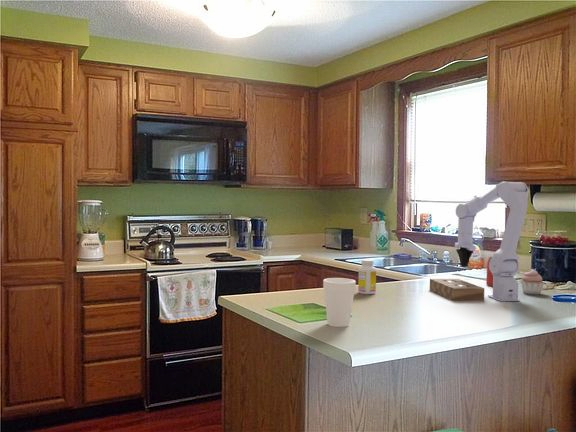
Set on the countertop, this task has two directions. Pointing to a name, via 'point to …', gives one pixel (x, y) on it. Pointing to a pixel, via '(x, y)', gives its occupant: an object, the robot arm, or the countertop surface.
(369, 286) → the supplement bottle
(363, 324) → the countertop surface
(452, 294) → the walnut block
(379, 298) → the countertop surface
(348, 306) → the foam cup
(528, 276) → the cupcake
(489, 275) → the beer can
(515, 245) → the robot arm
